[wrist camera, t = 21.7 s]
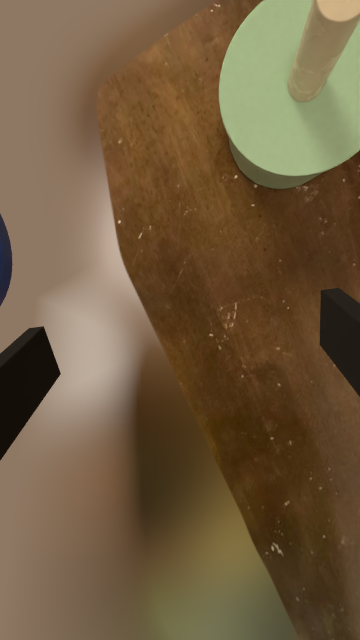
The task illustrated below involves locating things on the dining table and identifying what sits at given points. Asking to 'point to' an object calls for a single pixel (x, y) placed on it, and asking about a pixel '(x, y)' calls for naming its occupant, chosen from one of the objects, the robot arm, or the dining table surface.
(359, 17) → the tin lid
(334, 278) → the dining table surface
